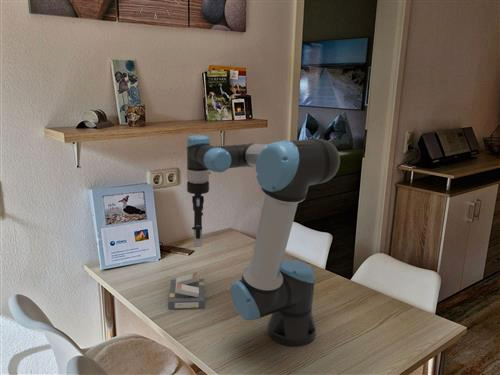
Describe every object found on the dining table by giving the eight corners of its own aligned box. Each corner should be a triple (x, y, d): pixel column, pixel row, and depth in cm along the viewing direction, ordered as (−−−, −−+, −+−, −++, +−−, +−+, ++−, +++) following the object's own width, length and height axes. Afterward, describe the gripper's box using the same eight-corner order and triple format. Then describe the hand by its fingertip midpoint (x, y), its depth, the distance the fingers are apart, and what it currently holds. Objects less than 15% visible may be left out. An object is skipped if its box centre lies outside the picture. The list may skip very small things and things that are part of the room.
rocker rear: (198, 281, 159) (197, 276, 159) (177, 286, 159) (175, 282, 158) (198, 276, 163) (197, 271, 162) (177, 281, 162) (176, 277, 162)
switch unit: (204, 308, 151) (204, 298, 150) (168, 310, 149) (168, 299, 148) (203, 286, 166) (203, 276, 165) (171, 287, 165) (171, 277, 164)
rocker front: (197, 297, 152) (199, 292, 152) (174, 292, 150) (176, 288, 150) (197, 291, 156) (198, 287, 155) (175, 286, 154) (176, 282, 154)
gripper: (210, 190, 140) (209, 253, 146) (208, 172, 164) (207, 227, 169) (186, 190, 140) (186, 253, 145) (187, 172, 163) (187, 227, 168)
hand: (197, 239), depth 157 cm, fingers open, 12 cm apart
